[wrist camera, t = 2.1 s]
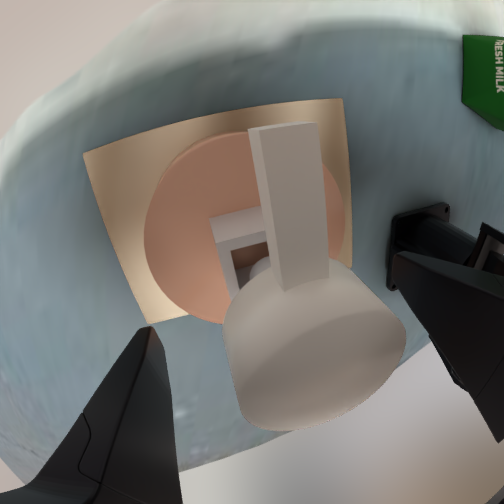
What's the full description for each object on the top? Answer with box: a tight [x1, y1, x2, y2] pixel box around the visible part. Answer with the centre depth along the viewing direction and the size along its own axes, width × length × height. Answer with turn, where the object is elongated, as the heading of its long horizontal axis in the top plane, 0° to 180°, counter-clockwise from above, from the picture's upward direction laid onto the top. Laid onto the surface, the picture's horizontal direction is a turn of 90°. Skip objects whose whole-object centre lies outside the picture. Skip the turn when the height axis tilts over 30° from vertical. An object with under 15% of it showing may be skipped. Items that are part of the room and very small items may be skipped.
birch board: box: [83, 98, 352, 324], centre depth 15 cm, size 14×11×1 cm
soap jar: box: [144, 131, 345, 324], centre depth 12 cm, size 9×9×6 cm
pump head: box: [222, 121, 406, 431], centre depth 7 cm, size 4×7×5 cm, turn 10°
